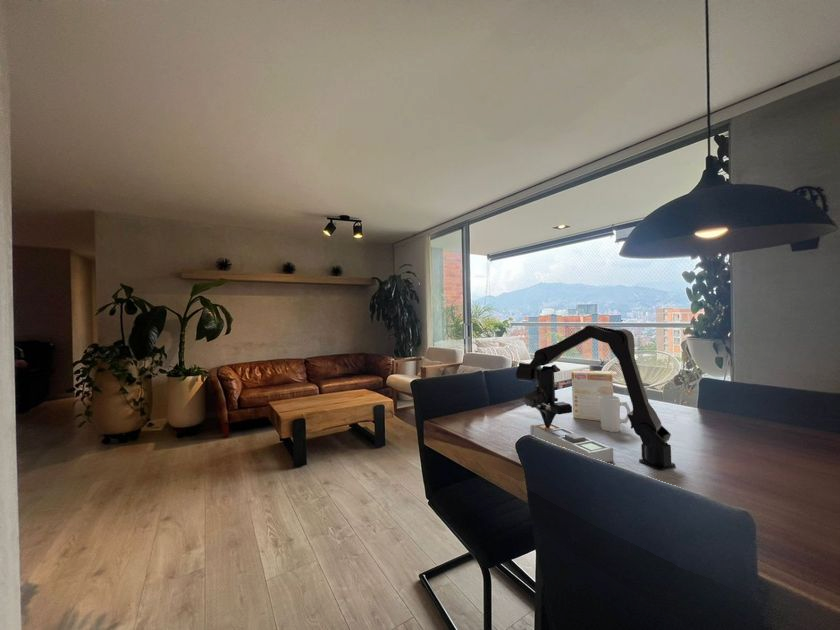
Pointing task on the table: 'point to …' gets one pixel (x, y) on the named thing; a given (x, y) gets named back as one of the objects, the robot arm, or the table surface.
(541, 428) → the key terracotta
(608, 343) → the robot arm
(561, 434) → the key blue
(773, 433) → the table surface
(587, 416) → the coffeecake box
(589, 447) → the key sage
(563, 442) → the keypad
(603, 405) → the mug
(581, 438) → the key charcoal
